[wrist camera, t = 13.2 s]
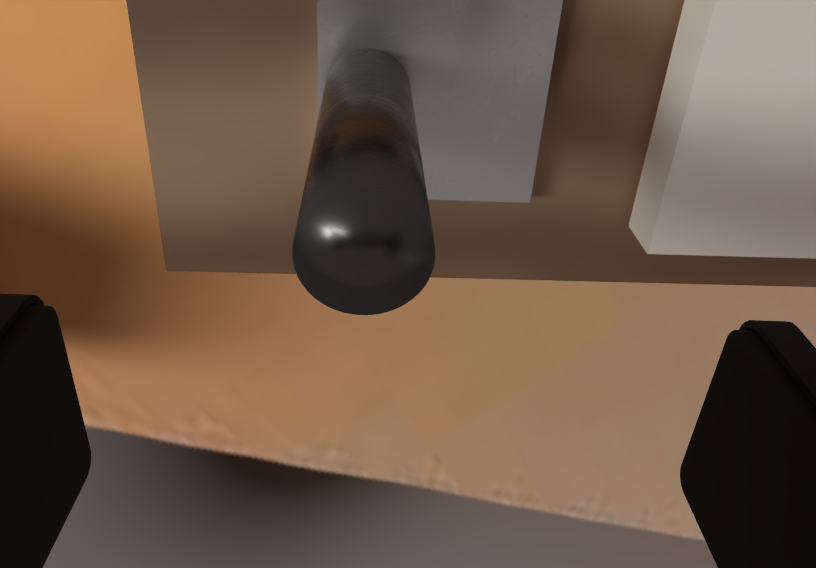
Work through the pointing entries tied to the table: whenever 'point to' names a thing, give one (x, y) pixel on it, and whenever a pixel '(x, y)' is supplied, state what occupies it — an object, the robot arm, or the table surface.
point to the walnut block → (451, 220)
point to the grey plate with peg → (415, 134)
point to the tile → (734, 135)
